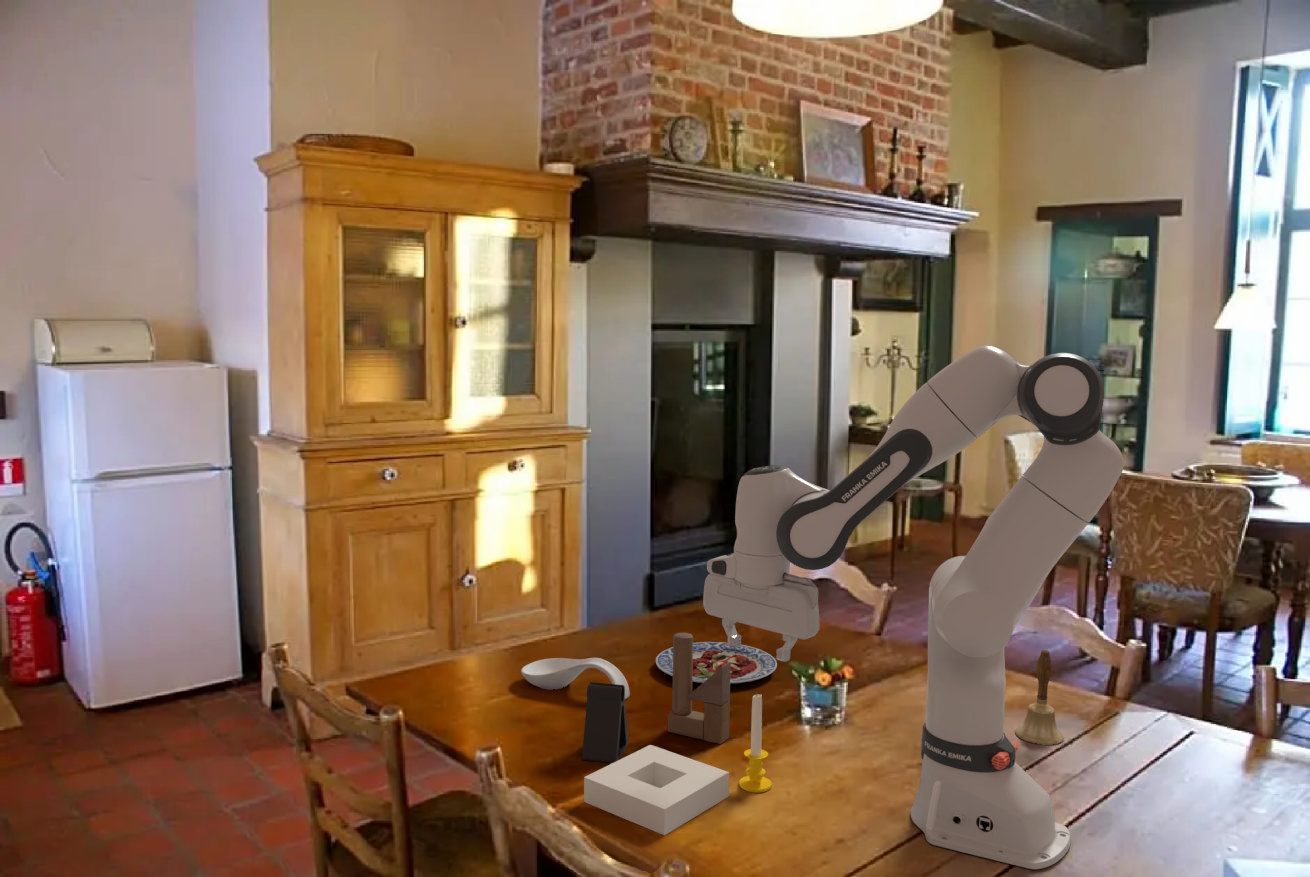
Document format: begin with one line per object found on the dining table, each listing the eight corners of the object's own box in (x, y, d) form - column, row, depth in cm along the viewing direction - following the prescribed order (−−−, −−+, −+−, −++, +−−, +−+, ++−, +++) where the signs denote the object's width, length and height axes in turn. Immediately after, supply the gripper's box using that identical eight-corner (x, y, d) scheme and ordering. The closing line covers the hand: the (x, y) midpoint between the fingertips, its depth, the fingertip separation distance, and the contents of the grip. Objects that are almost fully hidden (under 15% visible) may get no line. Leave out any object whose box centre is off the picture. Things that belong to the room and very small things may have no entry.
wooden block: (721, 745, 181) (722, 646, 179) (667, 732, 186) (668, 636, 184) (729, 738, 184) (731, 640, 182) (677, 725, 190) (678, 630, 187)
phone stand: (615, 764, 173) (615, 695, 172) (581, 760, 174) (581, 692, 173) (629, 742, 182) (629, 677, 180) (596, 739, 183) (596, 674, 182)
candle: (735, 789, 164) (737, 695, 162) (743, 776, 169) (745, 684, 167) (767, 795, 162) (769, 700, 161) (775, 781, 167) (777, 688, 165)
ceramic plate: (698, 644, 238) (698, 631, 237) (798, 667, 223) (798, 653, 222) (631, 674, 217) (631, 661, 217) (736, 702, 202) (736, 687, 202)
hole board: (728, 796, 162) (729, 772, 161) (664, 835, 150) (664, 809, 149) (650, 767, 172) (650, 744, 171) (584, 802, 160) (584, 777, 159)
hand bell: (1071, 736, 187) (1076, 650, 185) (1052, 749, 181) (1058, 661, 179) (1026, 723, 192) (1031, 640, 190) (1007, 736, 186) (1011, 650, 184)
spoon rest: (509, 688, 208) (509, 653, 208) (544, 671, 219) (544, 638, 218) (609, 711, 197) (609, 675, 196) (640, 692, 207) (640, 657, 206)
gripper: (829, 576, 158) (825, 664, 159) (722, 553, 171) (719, 634, 172) (807, 584, 153) (803, 674, 155) (698, 560, 166) (696, 643, 168)
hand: (758, 653), depth 164 cm, fingers open, 8 cm apart
